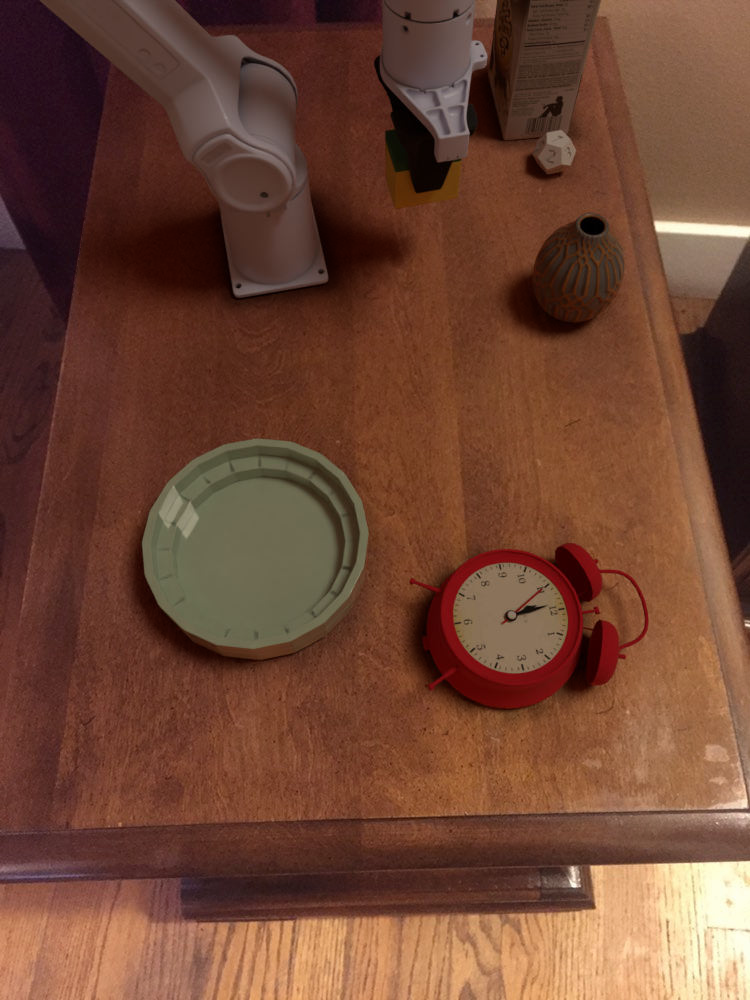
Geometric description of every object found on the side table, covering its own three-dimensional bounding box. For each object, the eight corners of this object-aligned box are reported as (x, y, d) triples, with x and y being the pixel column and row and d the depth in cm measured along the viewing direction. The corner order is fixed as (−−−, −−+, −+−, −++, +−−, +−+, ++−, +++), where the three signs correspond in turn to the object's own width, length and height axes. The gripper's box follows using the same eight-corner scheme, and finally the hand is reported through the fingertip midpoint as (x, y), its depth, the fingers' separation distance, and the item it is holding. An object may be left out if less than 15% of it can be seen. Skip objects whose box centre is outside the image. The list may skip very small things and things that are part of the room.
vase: (607, 342, 66) (637, 268, 58) (521, 329, 66) (539, 254, 58) (614, 275, 69) (643, 196, 61) (532, 263, 69) (550, 183, 61)
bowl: (147, 482, 61) (134, 460, 58) (347, 445, 62) (344, 421, 59) (166, 681, 55) (152, 669, 52) (388, 636, 56) (388, 621, 53)
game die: (523, 161, 74) (528, 134, 71) (556, 146, 75) (562, 118, 72) (545, 186, 73) (552, 159, 70) (579, 170, 74) (586, 142, 71)
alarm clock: (398, 556, 54) (626, 502, 52) (417, 583, 60) (622, 536, 58) (427, 713, 50) (676, 663, 48) (443, 727, 56) (667, 682, 53)
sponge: (394, 209, 63) (395, 163, 59) (385, 178, 64) (384, 130, 60) (458, 198, 63) (462, 151, 59) (446, 166, 65) (450, 118, 60)
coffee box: (485, 75, 79) (506, -108, 64) (550, 69, 79) (587, -115, 65) (501, 143, 75) (528, -35, 61) (570, 136, 75) (614, -43, 61)
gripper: (527, 60, 47) (499, 231, 59) (461, -88, 53) (448, 95, 65) (407, 81, 46) (404, 248, 59) (355, -71, 52) (362, 110, 65)
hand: (421, 169), depth 62 cm, fingers closed on sponge, 3 cm apart
